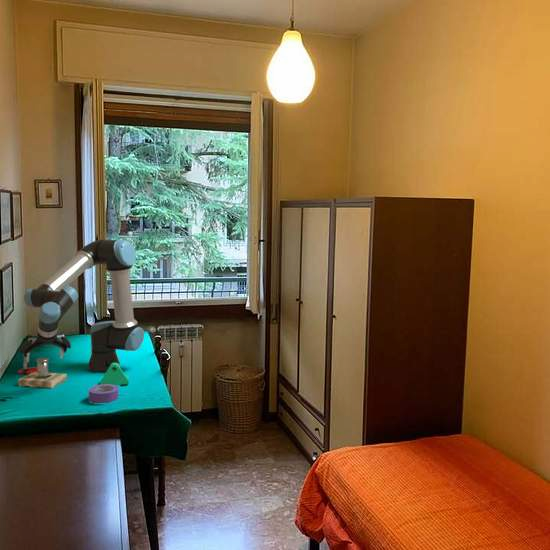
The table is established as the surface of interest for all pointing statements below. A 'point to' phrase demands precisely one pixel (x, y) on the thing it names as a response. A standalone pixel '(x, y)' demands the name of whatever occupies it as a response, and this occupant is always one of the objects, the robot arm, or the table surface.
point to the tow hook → (25, 369)
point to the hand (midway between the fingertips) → (44, 357)
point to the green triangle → (114, 376)
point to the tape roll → (103, 393)
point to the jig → (42, 380)
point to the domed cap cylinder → (42, 368)
